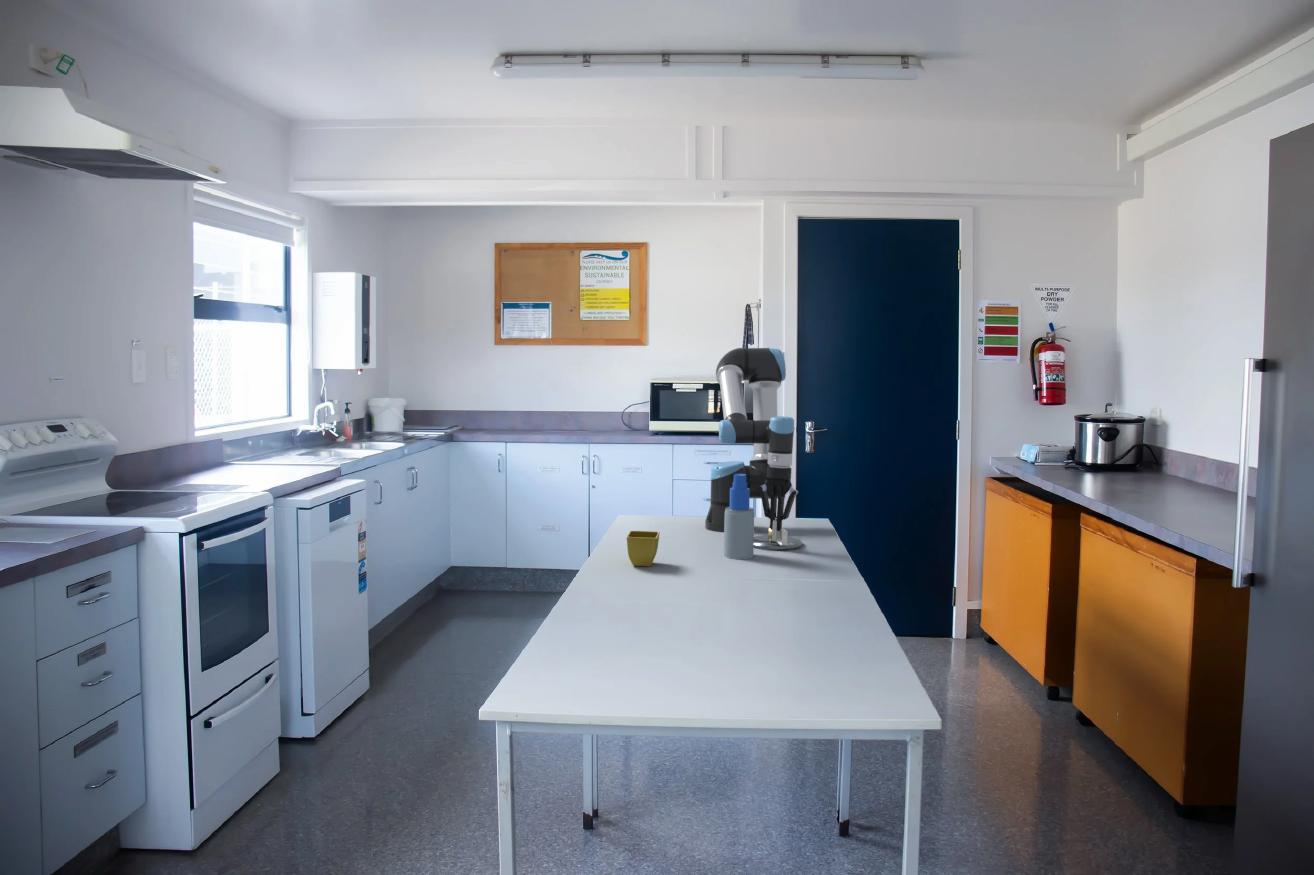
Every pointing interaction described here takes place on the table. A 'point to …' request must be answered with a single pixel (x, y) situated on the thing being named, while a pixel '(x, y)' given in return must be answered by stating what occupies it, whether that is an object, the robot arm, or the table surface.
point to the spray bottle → (739, 522)
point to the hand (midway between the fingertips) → (775, 540)
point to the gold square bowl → (642, 547)
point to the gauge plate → (776, 544)
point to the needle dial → (779, 536)
